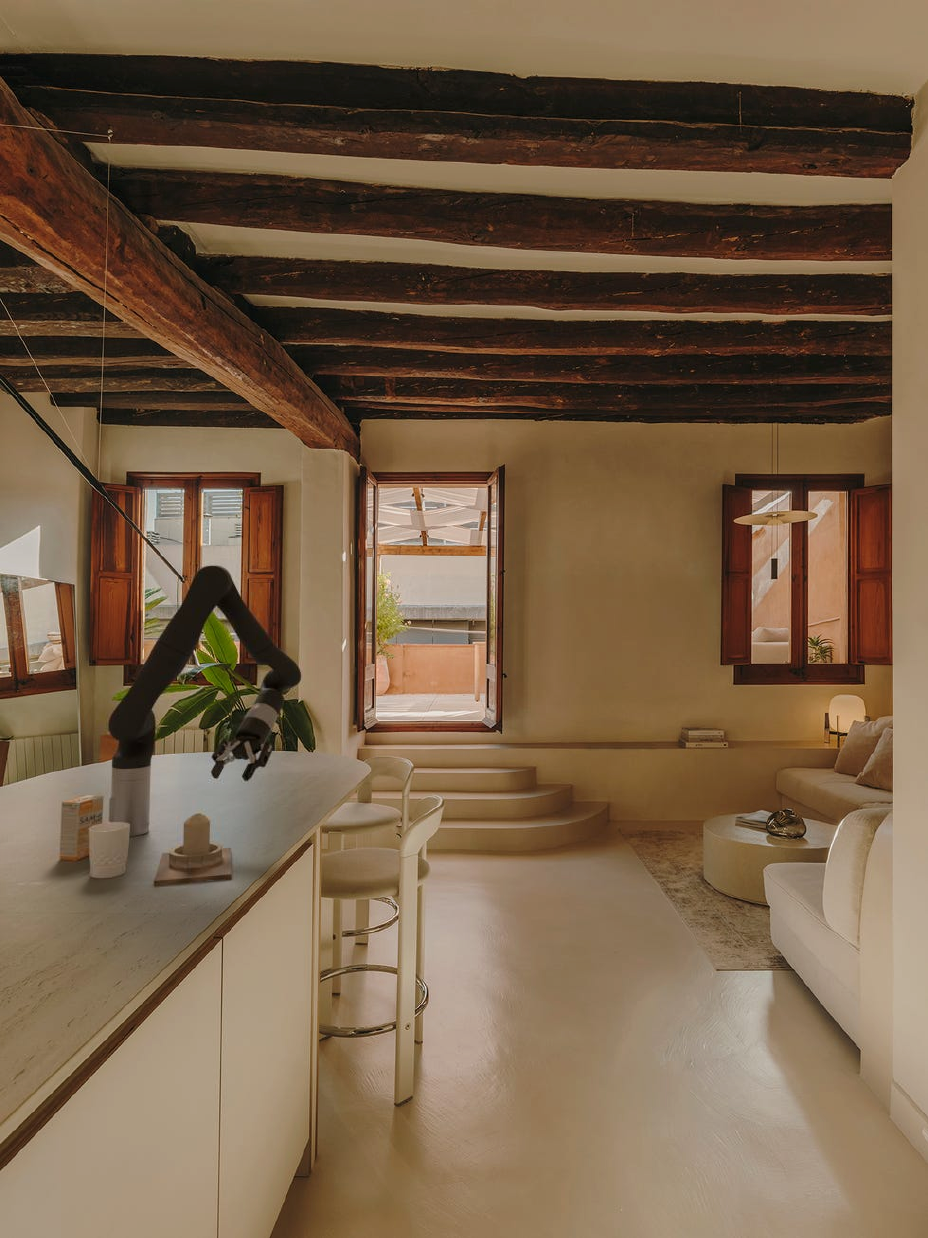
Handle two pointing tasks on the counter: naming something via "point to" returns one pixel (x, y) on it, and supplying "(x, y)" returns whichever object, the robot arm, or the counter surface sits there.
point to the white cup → (108, 849)
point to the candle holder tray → (194, 866)
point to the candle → (196, 835)
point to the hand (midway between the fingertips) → (229, 777)
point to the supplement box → (79, 825)
